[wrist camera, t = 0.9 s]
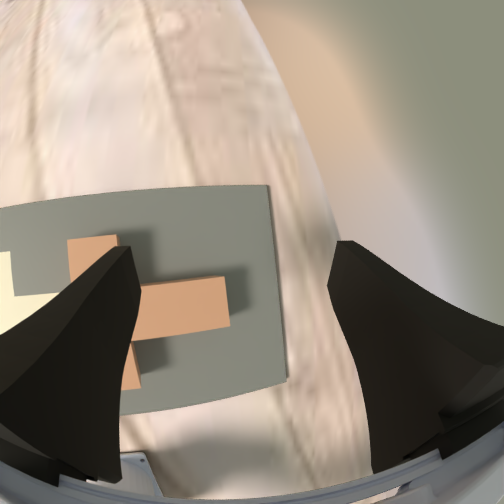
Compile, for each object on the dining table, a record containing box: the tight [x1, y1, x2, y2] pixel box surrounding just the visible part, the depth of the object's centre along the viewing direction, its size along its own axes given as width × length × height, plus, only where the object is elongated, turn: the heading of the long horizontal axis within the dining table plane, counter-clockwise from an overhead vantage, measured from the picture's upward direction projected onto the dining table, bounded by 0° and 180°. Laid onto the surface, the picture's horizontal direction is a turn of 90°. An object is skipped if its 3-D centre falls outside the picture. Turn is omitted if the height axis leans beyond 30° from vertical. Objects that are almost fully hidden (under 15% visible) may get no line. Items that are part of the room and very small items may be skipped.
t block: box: [67, 234, 230, 390], centre depth 21 cm, size 12×12×3 cm
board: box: [0, 185, 287, 416], centre depth 21 cm, size 20×34×1 cm, turn 97°
